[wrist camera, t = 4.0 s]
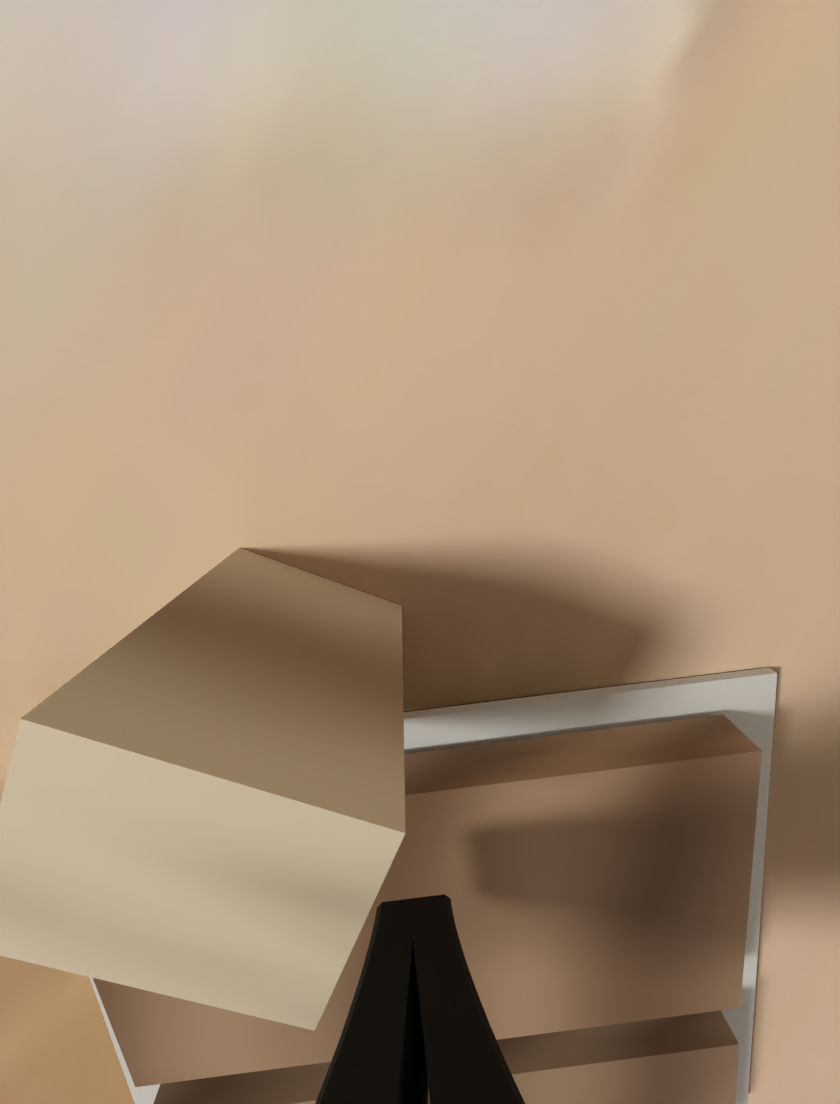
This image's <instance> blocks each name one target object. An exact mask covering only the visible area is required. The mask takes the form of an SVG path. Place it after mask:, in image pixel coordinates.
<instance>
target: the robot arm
mask: <svg viewBox="0 0 840 1104" xmlns="http://www.w3.org/2000/svg"><path fill="white" fill-rule="evenodd" d="M428 1091H429V1100H430V1104H525V1102H524V1100H523V1098H522V1096H521V1094H520V1091H519V1089H518V1087H517V1085H516V1083H515V1081H514V1078H513V1076H512V1074H511V1072H510V1070H509V1067H508V1065H507V1063H506V1061H505V1058H504V1056H503V1054H502V1052H501V1050H500V1047H499V1045H498V1042H497V1040H496V1038H495V1035H494V1033H493V1031H492V1028H491V1026H490V1023H489V1021H488V1018H487V1016H486V1013H485V1011H484V1008H483V1006H482V1003H481V1001H480V998H479V995H478V993H477V990H476V988H475V985H474V982H473V979H472V977H471V974H470V971H469V968H468V965H467V962H466V959H465V956H464V953H463V950H462V947H461V943H460V940H459V936H458V933H457V929H456V925H455V920H454V916H453V911H452V905H451V899H450V898H449V897H448V896H446V895H445V894H443V895H435V896H427V897H419V898H411V899H403V900H395V901H386V902H382V903H381V904H380V905H379V906H378V907H377V911H376V916H375V921H374V926H373V930H372V935H371V939H370V943H369V947H368V951H367V954H366V958H365V961H364V965H363V968H362V972H361V975H360V979H359V982H358V985H357V988H356V991H355V994H354V997H353V1001H352V1004H351V1007H350V1010H349V1013H348V1016H347V1019H346V1022H345V1025H344V1028H343V1031H342V1034H341V1037H340V1039H339V1042H338V1045H337V1048H336V1050H335V1053H334V1056H333V1058H332V1061H331V1063H330V1066H329V1069H328V1071H327V1074H326V1077H325V1079H324V1082H323V1084H322V1087H321V1090H320V1092H319V1095H318V1098H317V1100H316V1103H315V1104H428Z"/></svg>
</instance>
